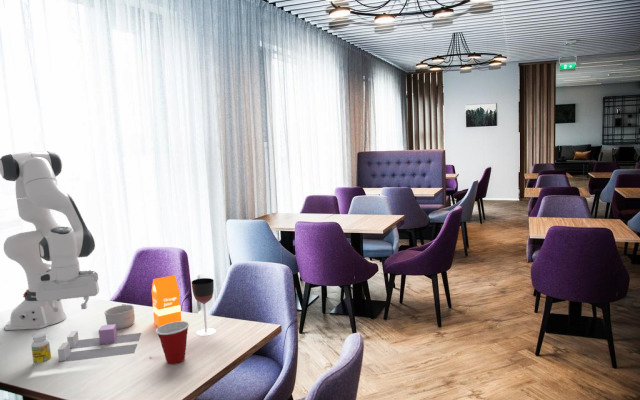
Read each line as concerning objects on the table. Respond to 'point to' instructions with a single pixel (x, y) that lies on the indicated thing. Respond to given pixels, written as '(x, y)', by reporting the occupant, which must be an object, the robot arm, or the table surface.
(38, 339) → the supplement bottle
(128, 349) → the empty strip
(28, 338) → the table surface
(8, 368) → the table surface
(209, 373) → the table surface
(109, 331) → the plum block
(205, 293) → the wineglass
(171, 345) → the plastic cup
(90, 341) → the cube strip
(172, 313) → the orange juice
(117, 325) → the teacup
